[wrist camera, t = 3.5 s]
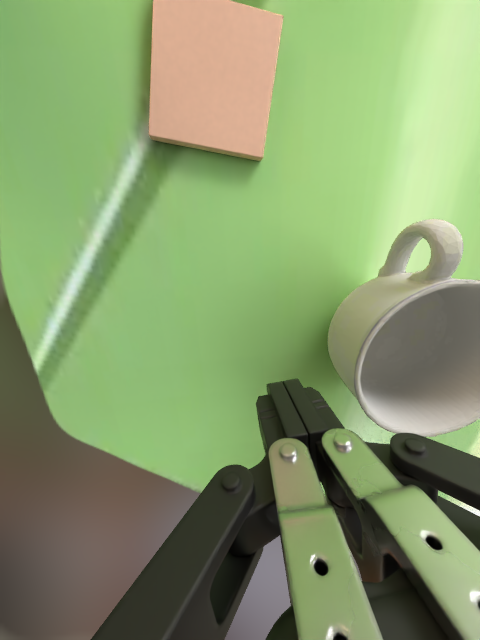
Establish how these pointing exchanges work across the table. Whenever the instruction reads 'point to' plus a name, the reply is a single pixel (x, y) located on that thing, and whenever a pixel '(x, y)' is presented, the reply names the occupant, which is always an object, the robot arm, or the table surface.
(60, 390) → the table surface
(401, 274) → the teacup
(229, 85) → the sticky note pad
